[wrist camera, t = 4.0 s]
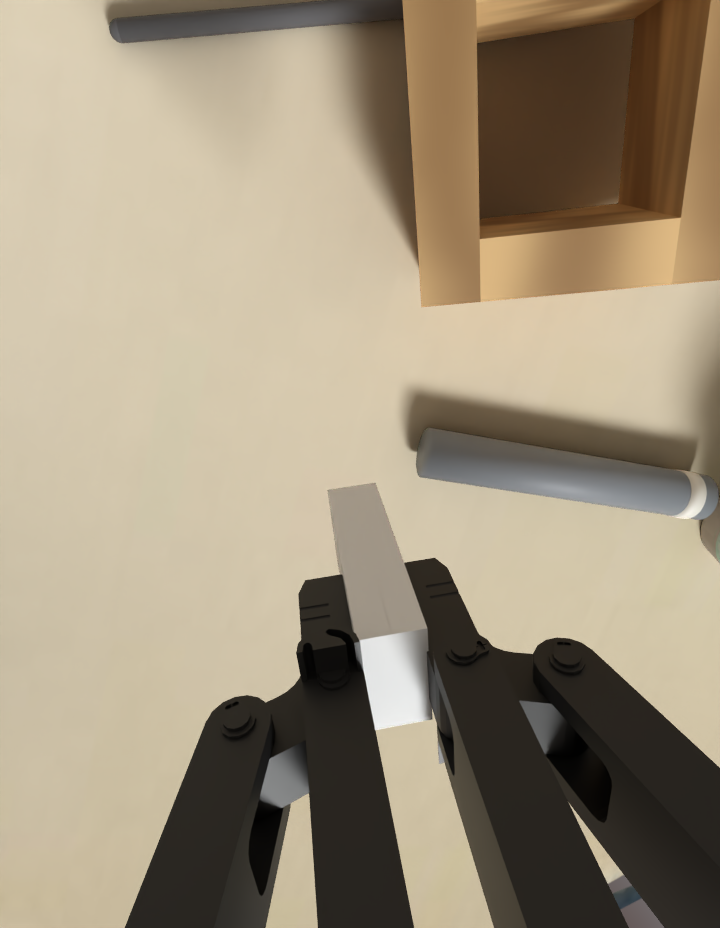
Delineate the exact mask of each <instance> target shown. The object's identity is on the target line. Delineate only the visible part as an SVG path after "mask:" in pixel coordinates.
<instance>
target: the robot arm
mask: <svg viewBox="0 0 720 928" xmlns="http://www.w3.org/2000/svg"><path fill="white" fill-rule="evenodd" d="M328 496H329V503H330V510H331V518H332V525H333V532H334V540H335V547H336V554H337V561H338V567H339V573H340V575H335V576H329V577H323V578H317V579H311V580H305V582H304V584H303V586H302V588H301V590H300V592H299V608H300V622H301V623H300V624H301V641H300V642H299V643H298V647H297V652H296V654H297V659H298V664H299V669H300V675H301V676H300V678H299V680H298V681H297V682H296V684H295V685H294V686H293V687H292V688H291V689H290V690H288V691H287V692H286V693H284V694H282V695H281V696H279V697H277V698H275V699H273V700H270V701H268V702H266V703H265V702H264V701H263V700H261V699H260V698H258V697H253V696H248V695H246V696H239V697H234V698H232V699H230V700H227V701H225V702H223V703H222V704H221V705H219V706H218V707H217V708H216V709H215V710H214V711H213V712H212V713H211V715H210V716H209V718H208V720H207V721H206V723H205V726H204V728H203V731H202V733H201V736H200V739H199V741H198V744H197V746H196V749H195V751H194V754H193V756H192V759H191V761H190V764H189V766H188V769H187V771H186V774H185V777H184V779H183V782H182V784H181V787H180V789H179V792H178V794H177V797H176V799H175V802H174V804H173V807H172V809H171V812H170V815H169V817H168V820H167V822H166V825H165V827H164V830H163V832H162V835H161V837H160V840H159V842H158V845H157V848H156V850H155V853H154V855H153V858H152V860H151V863H150V865H149V868H148V870H147V873H146V875H145V878H144V880H143V883H142V886H141V888H140V891H139V893H138V896H137V898H136V901H135V903H134V906H133V908H132V911H131V913H130V916H129V918H128V921H127V924H126V926H125V928H265V927H266V922H267V917H268V913H269V908H270V903H271V898H272V893H273V888H274V884H275V879H276V874H277V869H278V864H279V860H280V855H281V850H282V845H283V840H284V835H285V831H286V826H287V821H288V816H289V811H290V803H292V802H293V801H295V800H297V799H299V798H301V797H302V796H304V795H306V794H308V793H309V797H310V812H311V828H312V843H313V858H314V874H315V889H316V904H317V919H318V928H414V925H413V920H412V915H411V910H410V905H409V900H408V895H407V890H406V884H405V879H404V874H403V869H402V864H401V859H400V854H399V849H398V844H397V839H396V833H395V828H394V823H393V818H392V813H391V808H390V803H389V798H388V793H387V788H386V782H385V777H384V772H383V767H382V762H381V757H380V752H379V747H378V742H377V736H376V731H375V730H378V729H383V728H389V727H394V726H399V725H405V724H410V723H415V722H421V721H426V720H431V719H432V709H433V712H434V715H435V719H436V722H437V734H438V754H439V764H440V763H444V762H445V766H446V769H447V772H448V776H449V779H450V782H451V786H452V789H453V792H454V796H455V799H456V802H457V806H458V809H459V812H460V816H461V819H462V822H463V826H464V829H465V832H466V836H467V839H468V842H469V846H470V849H471V852H472V856H473V859H474V862H475V866H476V869H477V872H478V876H479V879H480V882H481V886H482V889H483V892H484V896H485V899H486V902H487V905H488V909H489V912H490V915H491V919H492V922H493V925H494V928H629V927H628V925H627V923H626V921H625V919H624V917H623V915H622V913H621V910H620V908H619V906H618V904H617V902H616V900H615V898H614V896H613V894H612V892H611V890H610V888H609V886H608V884H607V882H606V879H605V877H604V875H603V873H602V871H601V869H600V867H599V865H598V863H597V861H596V859H595V857H594V855H593V853H592V850H591V848H590V846H589V844H588V842H587V840H586V838H585V836H584V834H583V832H582V830H581V828H580V826H579V824H578V822H577V819H576V817H575V815H574V813H573V811H572V809H571V807H570V805H571V806H572V807H573V809H574V810H575V811H576V812H577V814H578V815H579V816H580V818H581V819H582V820H583V822H584V823H585V824H586V826H587V827H588V828H589V829H590V831H591V832H592V833H593V835H594V836H595V837H596V839H597V840H598V841H599V843H600V844H601V845H602V846H603V848H604V849H605V850H606V852H607V853H608V854H609V856H610V857H611V858H612V860H613V861H614V862H615V863H616V865H617V866H618V867H619V869H620V870H621V871H622V873H623V874H624V875H625V877H626V878H627V879H628V880H629V882H630V883H631V884H632V886H633V887H634V888H635V890H636V891H637V892H638V894H639V895H640V896H641V897H642V899H643V900H644V901H645V903H646V904H647V905H648V907H649V908H650V909H651V911H652V912H653V913H654V914H655V916H656V917H657V918H658V920H659V921H660V922H661V924H662V925H663V926H664V928H720V768H719V767H718V766H717V765H716V764H715V763H714V762H713V761H712V760H711V759H710V758H708V757H707V756H706V755H705V754H704V753H703V752H702V751H701V750H700V749H699V748H698V747H697V746H695V745H694V744H693V743H692V742H691V741H690V740H689V739H688V738H687V737H686V736H685V735H684V734H682V733H681V732H680V731H679V730H678V729H677V728H676V727H675V726H674V725H673V724H672V723H671V722H670V721H668V720H667V719H666V718H665V717H664V716H663V715H662V714H661V713H660V712H659V711H658V710H657V709H655V708H654V707H653V706H652V705H651V704H650V703H649V702H648V701H647V700H646V699H645V698H644V697H642V696H641V695H640V694H639V693H638V692H637V691H636V690H635V689H634V688H633V687H632V686H631V685H629V684H628V683H627V682H626V681H625V680H624V679H623V678H622V677H621V676H620V675H619V674H618V673H617V672H615V671H614V670H613V669H612V668H611V667H610V666H609V665H608V664H607V663H606V662H605V661H604V660H602V659H601V658H600V657H599V656H598V655H597V654H596V653H595V652H594V651H593V650H591V649H590V648H589V647H587V646H586V645H584V644H583V643H581V642H578V641H575V640H572V639H567V638H553V639H549V640H545V641H544V642H542V643H541V644H539V645H538V646H537V648H536V650H535V651H534V653H533V654H525V653H513V652H508V651H503V650H500V649H497V648H495V647H493V646H492V645H491V644H490V643H489V641H488V640H487V639H485V638H484V637H482V636H480V635H479V633H478V632H477V630H476V628H475V626H474V624H473V621H472V619H471V617H470V615H469V613H468V611H467V609H466V606H465V604H464V602H463V600H462V598H461V596H460V594H459V592H458V589H457V587H456V585H455V583H454V581H453V579H452V577H451V574H450V572H449V570H448V568H447V567H446V566H444V565H443V564H442V563H441V562H439V561H438V560H437V559H435V558H431V559H425V560H419V561H413V562H407V563H404V561H403V559H402V556H401V553H400V550H399V547H398V545H397V542H396V539H395V536H394V533H393V531H392V528H391V525H390V522H389V519H388V517H387V514H386V511H385V508H384V505H383V503H382V500H381V497H380V494H379V491H378V489H377V486H376V483H371V484H364V485H358V486H351V487H344V488H338V489H331V490H328ZM568 802H569V803H570V805H569V803H568Z"/></svg>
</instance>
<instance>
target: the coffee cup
mask: <svg viewBox="0 0 720 928" xmlns="http://www.w3.org/2000/svg"><path fill="white" fill-rule="evenodd" d="M701 539H702V542H703V544H704V546H705V547H706V548H707V550H708V551H709V552H710V553H711V554H712V555H713V556H714V557H715V559H716V560H717V561H718V562H719V563H720V498H719V499H718V503H717V506H716V508H715V510H714V511H713V513H712V514H711V515H710V516H708V517H707V518H705V519H703V522H702V526H701Z"/></svg>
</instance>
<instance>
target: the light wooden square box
mask: <svg viewBox="0 0 720 928" xmlns="http://www.w3.org/2000/svg"><path fill="white" fill-rule="evenodd" d="M402 1H403V17H404V33H405V49H406V65H407V82H408V98H409V114H410V130H411V146H412V162H413V178H414V194H415V210H416V226H417V242H418V258H419V274H420V291H421V307H428V306H439V305H450V304H461V303H472V302H483V301H494V300H505V299H516V298H527V297H538V296H549V295H560V294H571V293H582V292H593V291H604V290H615V289H626V288H637V287H648V286H659V285H670V284H681V283H692V282H703V281H714V280H720V0H402ZM634 18H635V20H634V31H633V43H632V54H631V65H630V76H629V87H628V98H627V110H626V121H625V132H624V143H623V154H622V166H621V177H620V188H619V199H618V203H617V204H609V205H600V206H591V207H582V208H573V209H564V210H555V211H546V212H537V213H528V214H519V215H510V216H501V217H492V218H483V219H479V156H478V87H477V43H480V42H487V41H493V40H500V39H506V38H512V37H519V36H525V35H532V34H538V33H544V32H551V31H557V30H564V29H570V28H577V27H583V26H589V25H596V24H602V23H609V22H615V21H621V20H628V19H634Z"/></svg>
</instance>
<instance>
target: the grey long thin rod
mask: <svg viewBox="0 0 720 928" xmlns="http://www.w3.org/2000/svg"><path fill="white" fill-rule="evenodd" d="M394 19H404V17H403V1H402V0H325V1H314V2H302V3H290V4H278V5H266V6H255V7H243V8H231V9H219V10H207V11H196V12H184V13H172V14H160V15H148V16H137V17H125V18H115V19H113V20H112V21H111V23H110V26H109V30H110V34H111V36H112V37H113V38H114V39H115V40H116V41H117V42H119V43H131V42H142V41H154V40H165V39H177V38H188V37H199V36H211V35H222V34H234V33H245V32H257V31H268V30H279V29H291V28H302V27H314V26H325V25H336V24H348V23H359V22H371V21H382V20H394Z"/></svg>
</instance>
